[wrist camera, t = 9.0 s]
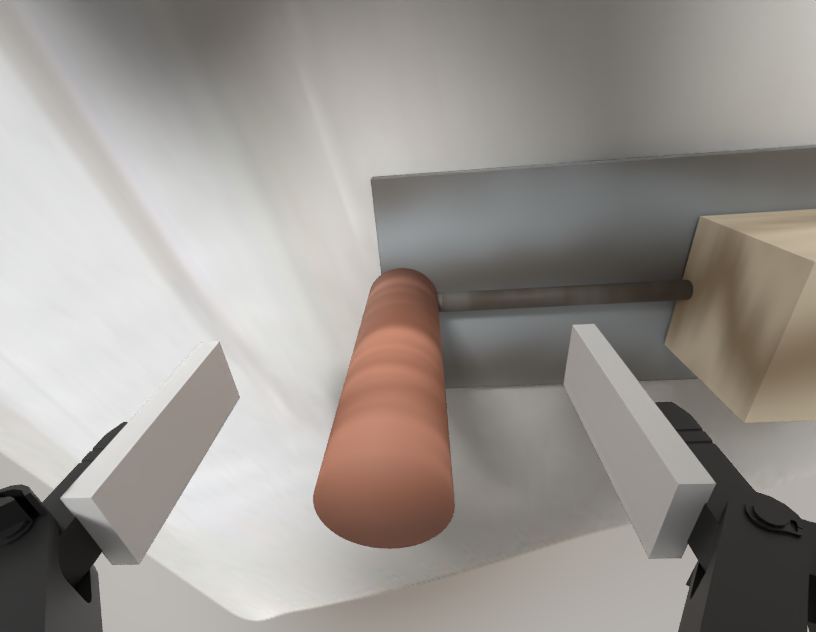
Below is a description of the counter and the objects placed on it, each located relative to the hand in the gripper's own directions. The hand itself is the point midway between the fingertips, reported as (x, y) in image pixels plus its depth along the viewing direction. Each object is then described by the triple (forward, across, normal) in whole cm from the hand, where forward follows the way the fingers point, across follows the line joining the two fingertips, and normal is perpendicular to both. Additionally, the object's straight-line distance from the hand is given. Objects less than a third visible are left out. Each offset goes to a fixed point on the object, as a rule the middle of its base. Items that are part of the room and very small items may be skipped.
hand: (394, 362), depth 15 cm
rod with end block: (+6, +10, 0) cm, 12 cm away
